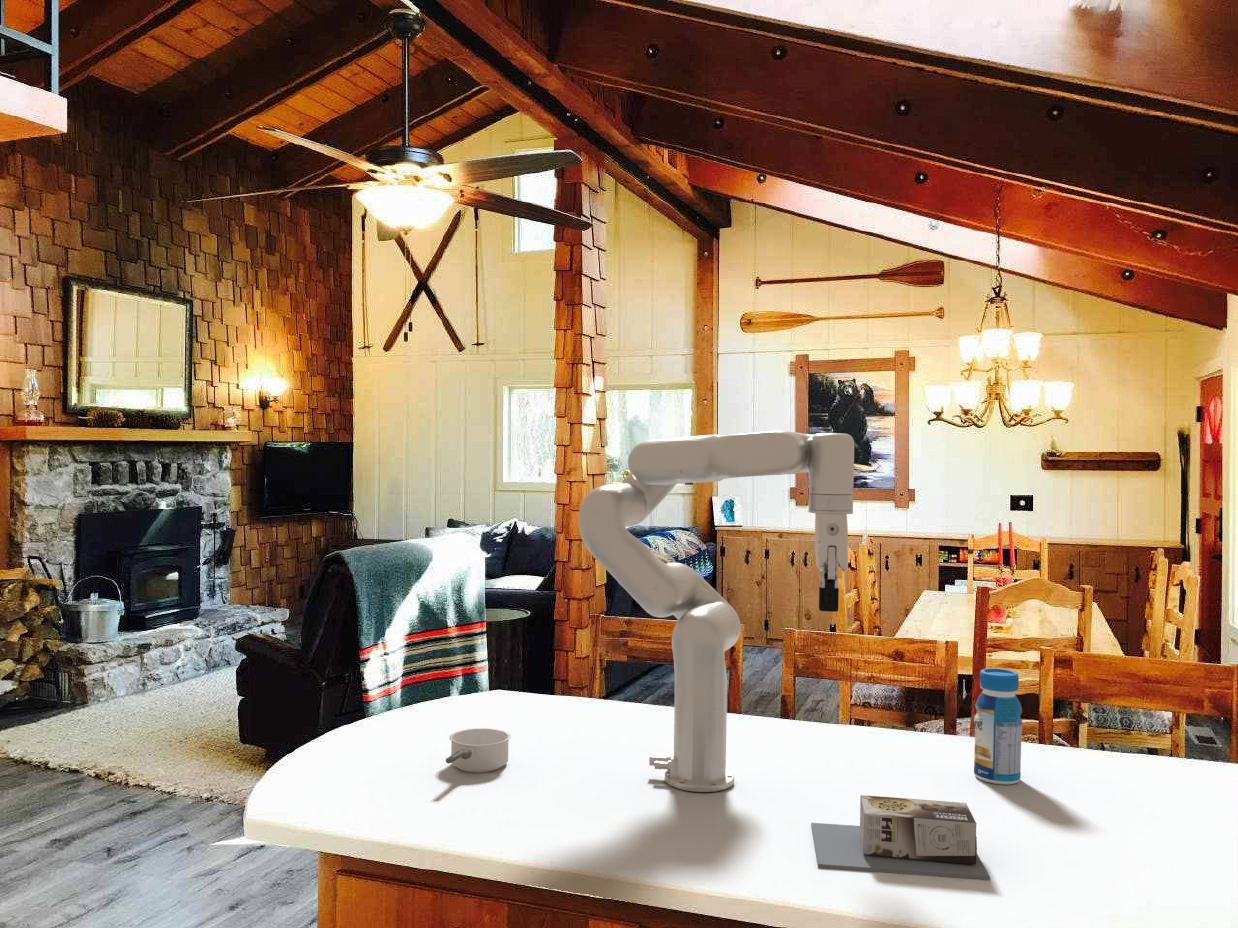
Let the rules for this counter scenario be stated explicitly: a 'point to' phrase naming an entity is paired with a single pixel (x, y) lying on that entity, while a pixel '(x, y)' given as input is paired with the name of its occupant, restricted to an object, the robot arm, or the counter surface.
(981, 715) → the beverage bottle
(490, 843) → the counter surface
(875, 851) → the coffee box
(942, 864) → the slate mat
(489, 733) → the saucepan
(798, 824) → the counter surface
